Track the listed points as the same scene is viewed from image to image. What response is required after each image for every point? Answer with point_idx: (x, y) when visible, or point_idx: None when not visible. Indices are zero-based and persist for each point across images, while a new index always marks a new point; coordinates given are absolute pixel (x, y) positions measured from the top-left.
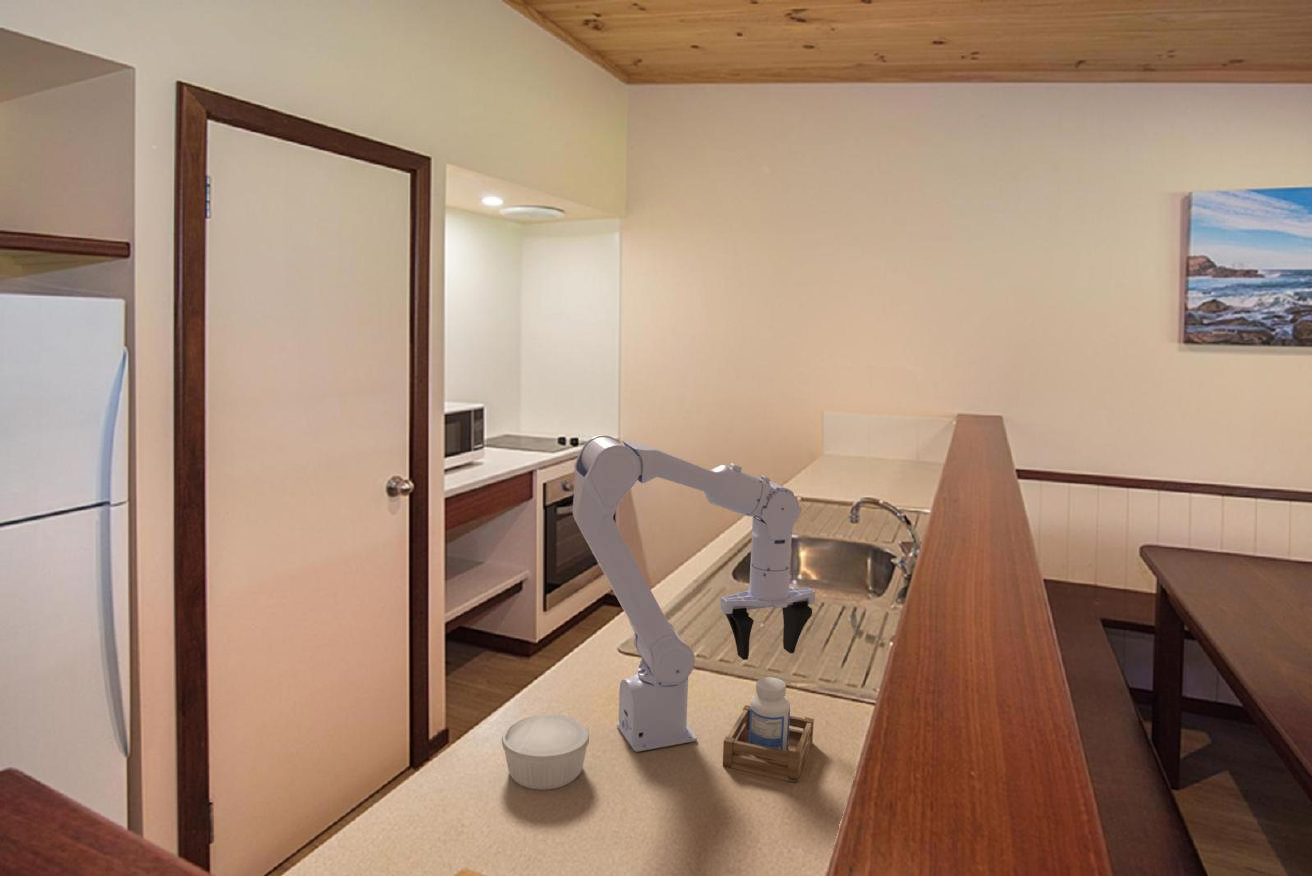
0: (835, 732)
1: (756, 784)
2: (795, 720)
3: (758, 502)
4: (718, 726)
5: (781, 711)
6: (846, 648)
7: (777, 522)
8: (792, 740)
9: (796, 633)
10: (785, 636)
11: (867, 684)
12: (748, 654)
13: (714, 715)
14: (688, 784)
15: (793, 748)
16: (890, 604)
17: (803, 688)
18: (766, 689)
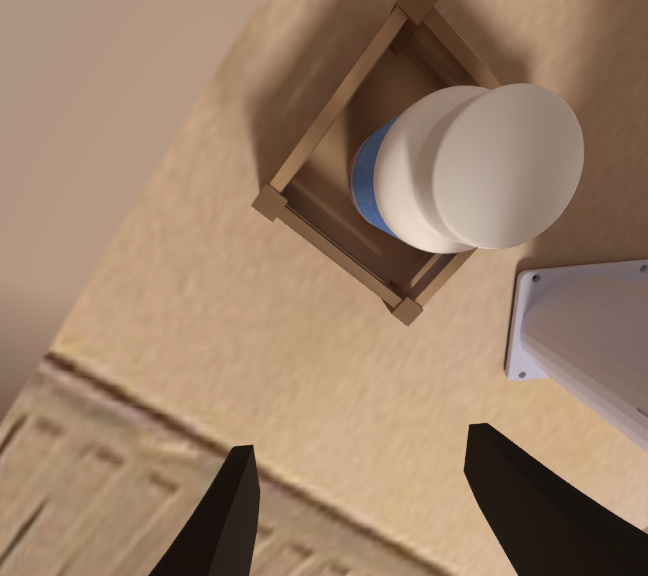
0: (179, 234)
1: (489, 50)
2: (305, 222)
3: None
4: (440, 321)
5: (455, 86)
6: (3, 569)
7: None
8: (315, 206)
9: (201, 549)
10: (247, 552)
11: (4, 425)
12: (486, 439)
13: (425, 364)
14: (631, 102)
15: (330, 169)
16: None
17: (177, 432)
18: (572, 111)
